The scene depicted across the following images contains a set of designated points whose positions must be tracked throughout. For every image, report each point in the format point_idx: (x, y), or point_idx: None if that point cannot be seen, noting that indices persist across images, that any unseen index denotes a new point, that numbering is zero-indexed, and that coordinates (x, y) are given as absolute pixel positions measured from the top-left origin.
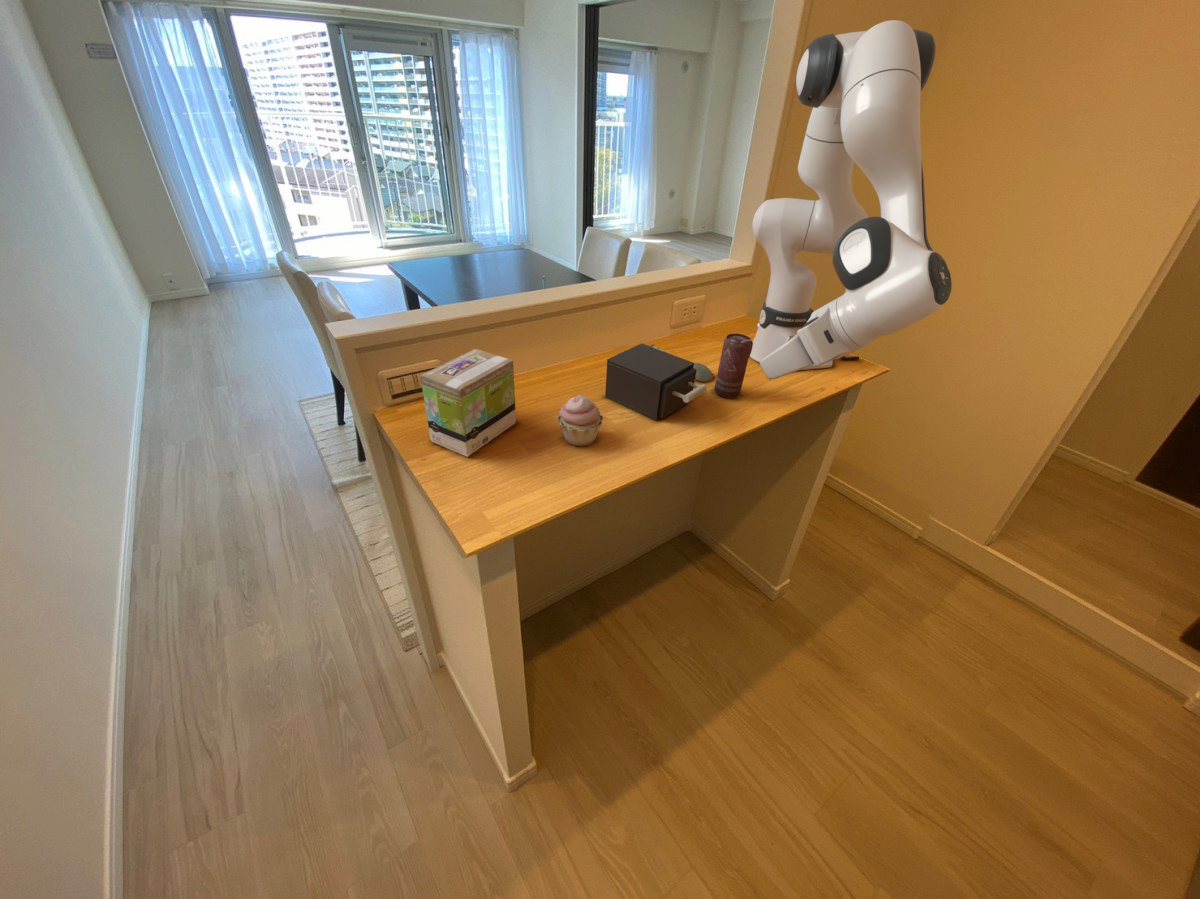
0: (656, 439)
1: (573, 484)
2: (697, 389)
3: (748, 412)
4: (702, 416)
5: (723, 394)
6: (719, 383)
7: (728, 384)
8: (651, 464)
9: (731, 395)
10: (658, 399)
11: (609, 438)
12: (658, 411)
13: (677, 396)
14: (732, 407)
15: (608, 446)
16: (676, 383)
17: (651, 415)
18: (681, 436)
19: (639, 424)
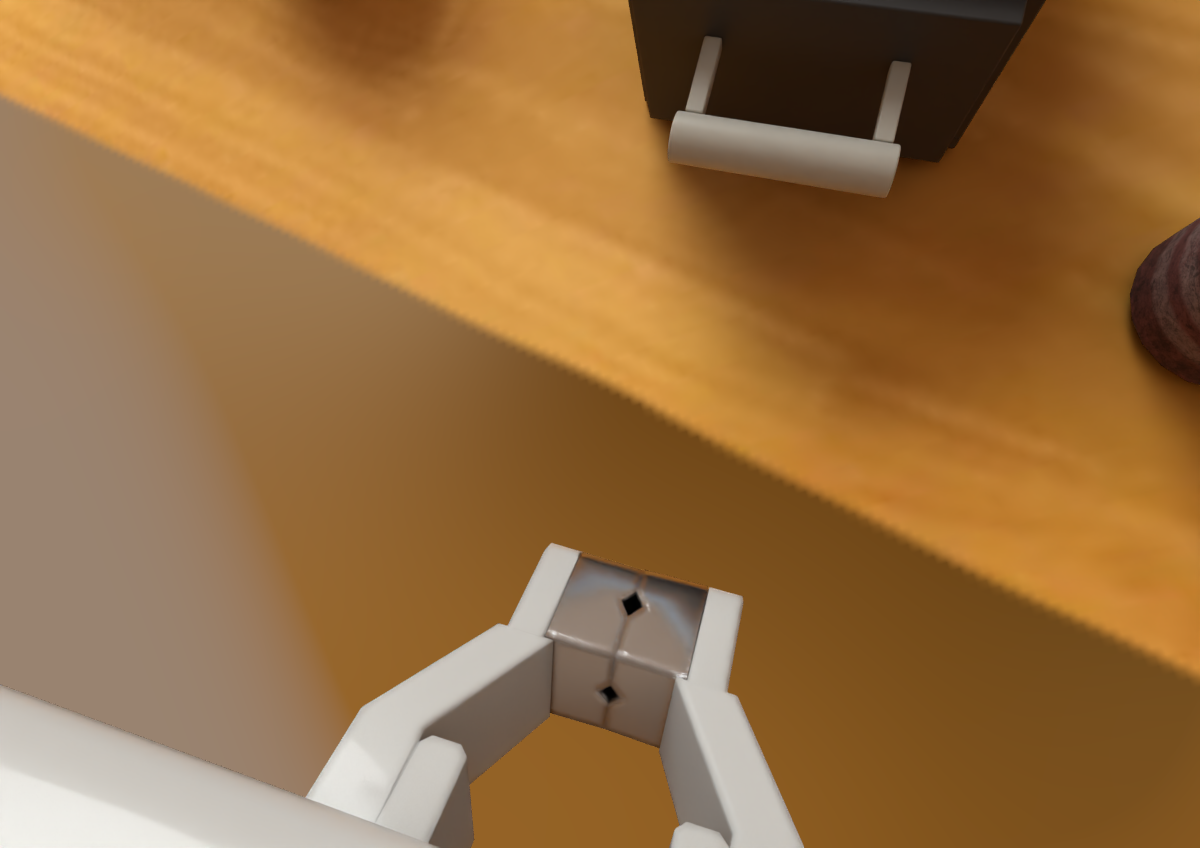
0: (497, 171)
1: (93, 56)
2: (800, 148)
3: (1039, 496)
4: (827, 278)
5: (1136, 301)
6: (1187, 234)
7: (1189, 293)
8: (315, 232)
9: (1156, 349)
10: (630, 12)
11: (406, 5)
12: None
13: (771, 83)
14: (1040, 394)
15: (352, 32)
16: (741, 6)
17: None
18: (579, 257)
19: (576, 52)
